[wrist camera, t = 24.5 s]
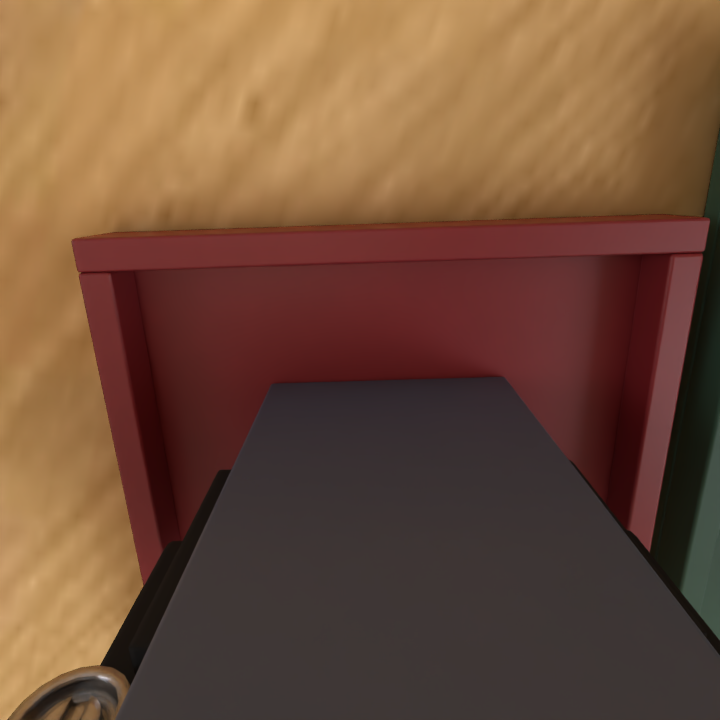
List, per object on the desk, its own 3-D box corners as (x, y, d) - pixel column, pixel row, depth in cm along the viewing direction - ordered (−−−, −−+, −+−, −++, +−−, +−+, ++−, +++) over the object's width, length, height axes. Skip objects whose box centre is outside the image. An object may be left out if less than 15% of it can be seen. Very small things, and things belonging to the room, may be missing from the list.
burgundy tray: (109, 232, 10) (69, 239, 9) (663, 214, 10) (712, 217, 9) (187, 652, 14) (167, 705, 12) (597, 642, 14) (625, 695, 12)
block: (270, 382, 11) (53, 837, 3) (505, 375, 11) (858, 824, 3) (288, 572, 12) (173, 1182, 5) (493, 567, 12) (706, 1176, 5)
